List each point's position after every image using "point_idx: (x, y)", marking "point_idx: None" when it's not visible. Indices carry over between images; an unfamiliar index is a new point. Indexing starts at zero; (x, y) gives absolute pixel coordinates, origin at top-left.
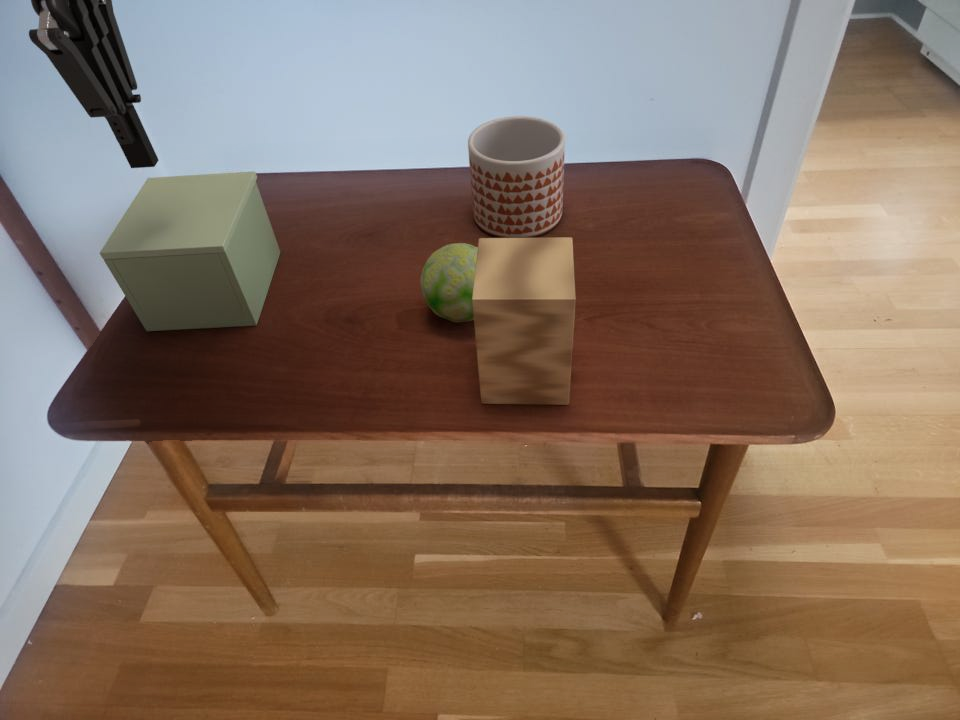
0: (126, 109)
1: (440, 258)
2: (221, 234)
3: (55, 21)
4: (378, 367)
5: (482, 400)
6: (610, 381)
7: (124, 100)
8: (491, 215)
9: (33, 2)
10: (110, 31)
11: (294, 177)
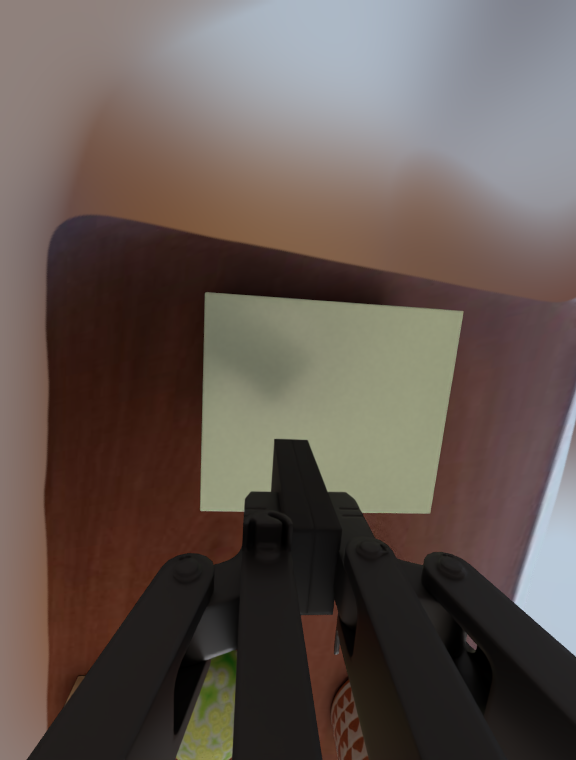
0: (304, 600)
1: (198, 735)
2: (233, 501)
3: None
4: (135, 582)
5: (75, 682)
6: None
7: (338, 612)
8: (350, 714)
9: None
10: None
11: (548, 436)
